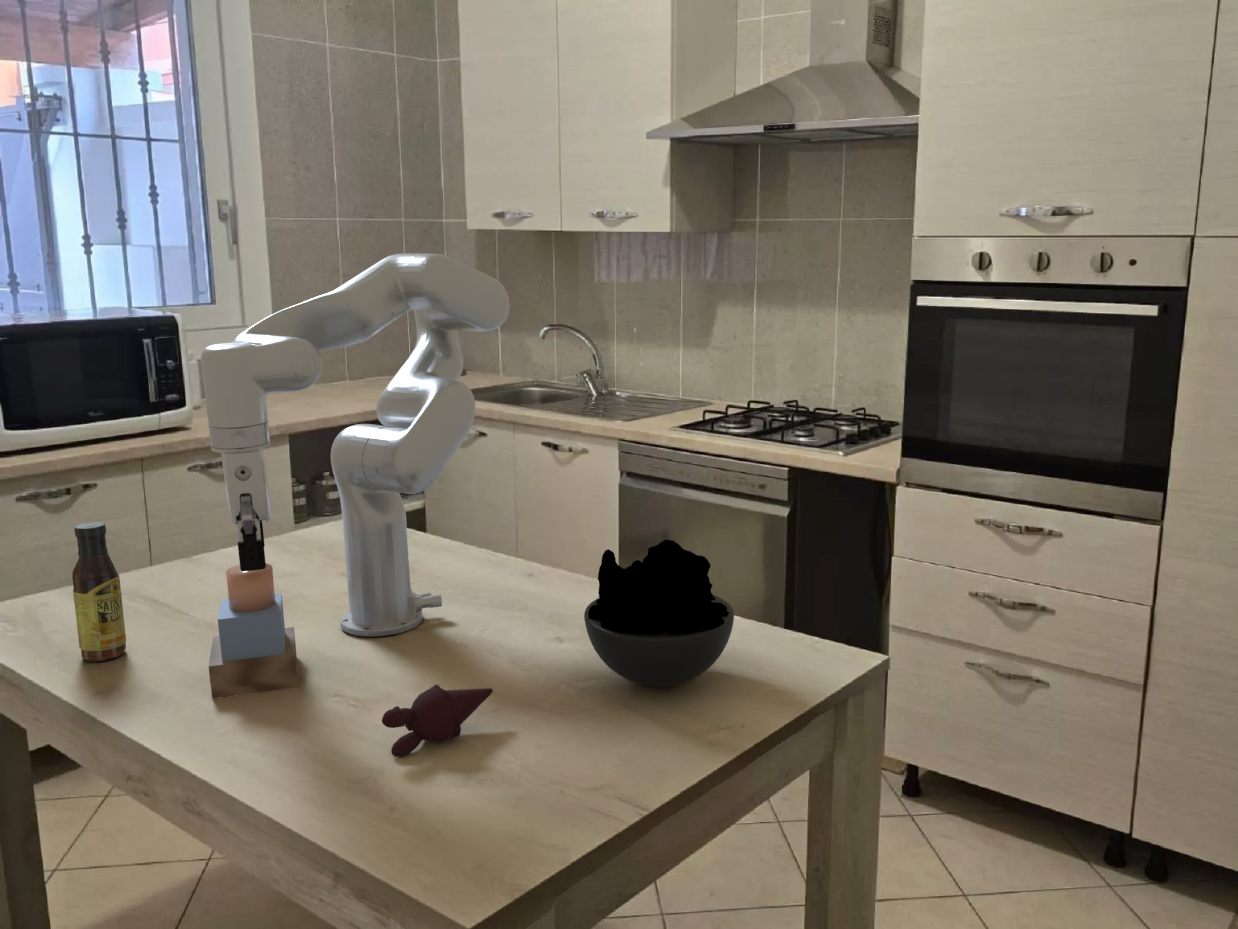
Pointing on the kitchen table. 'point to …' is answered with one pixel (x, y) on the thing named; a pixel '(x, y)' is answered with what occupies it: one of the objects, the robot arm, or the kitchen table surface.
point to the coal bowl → (658, 617)
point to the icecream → (433, 716)
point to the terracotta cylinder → (250, 589)
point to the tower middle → (251, 632)
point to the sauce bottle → (97, 597)
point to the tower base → (253, 671)
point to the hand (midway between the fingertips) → (253, 558)
